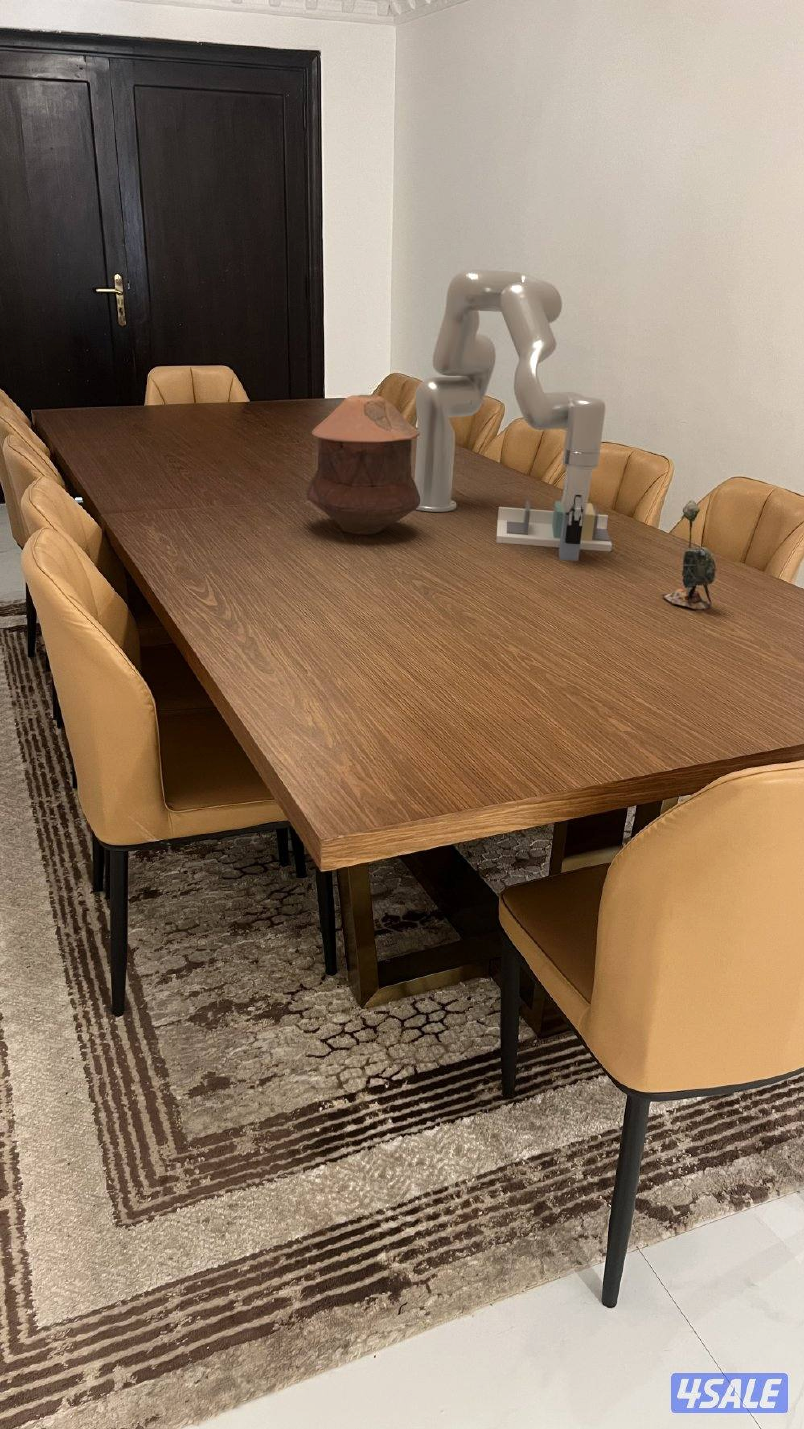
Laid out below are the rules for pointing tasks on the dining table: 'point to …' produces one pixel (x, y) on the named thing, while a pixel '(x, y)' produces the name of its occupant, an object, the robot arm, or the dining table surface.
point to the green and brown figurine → (694, 570)
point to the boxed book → (566, 549)
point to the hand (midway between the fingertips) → (571, 537)
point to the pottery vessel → (364, 465)
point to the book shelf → (550, 527)
